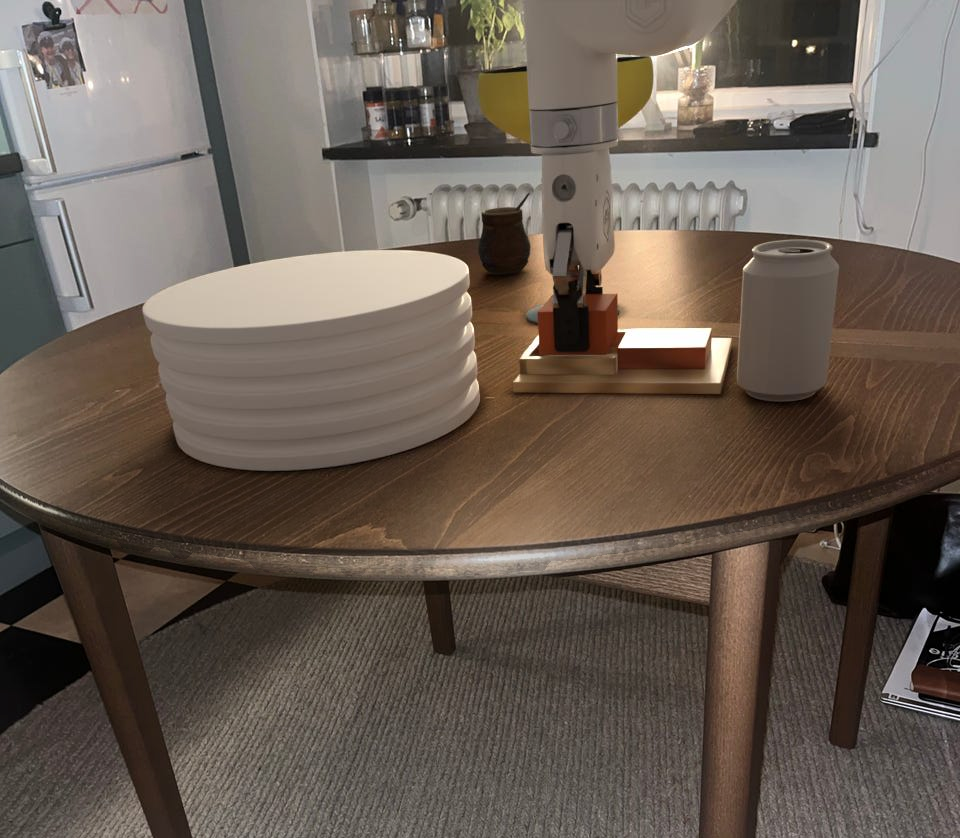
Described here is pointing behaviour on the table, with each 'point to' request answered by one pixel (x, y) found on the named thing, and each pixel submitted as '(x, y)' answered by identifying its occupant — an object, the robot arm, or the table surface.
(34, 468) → the table surface
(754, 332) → the can
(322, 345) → the plate stack
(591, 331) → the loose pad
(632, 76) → the cocktail glass
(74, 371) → the table surface
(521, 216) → the mate gourd
